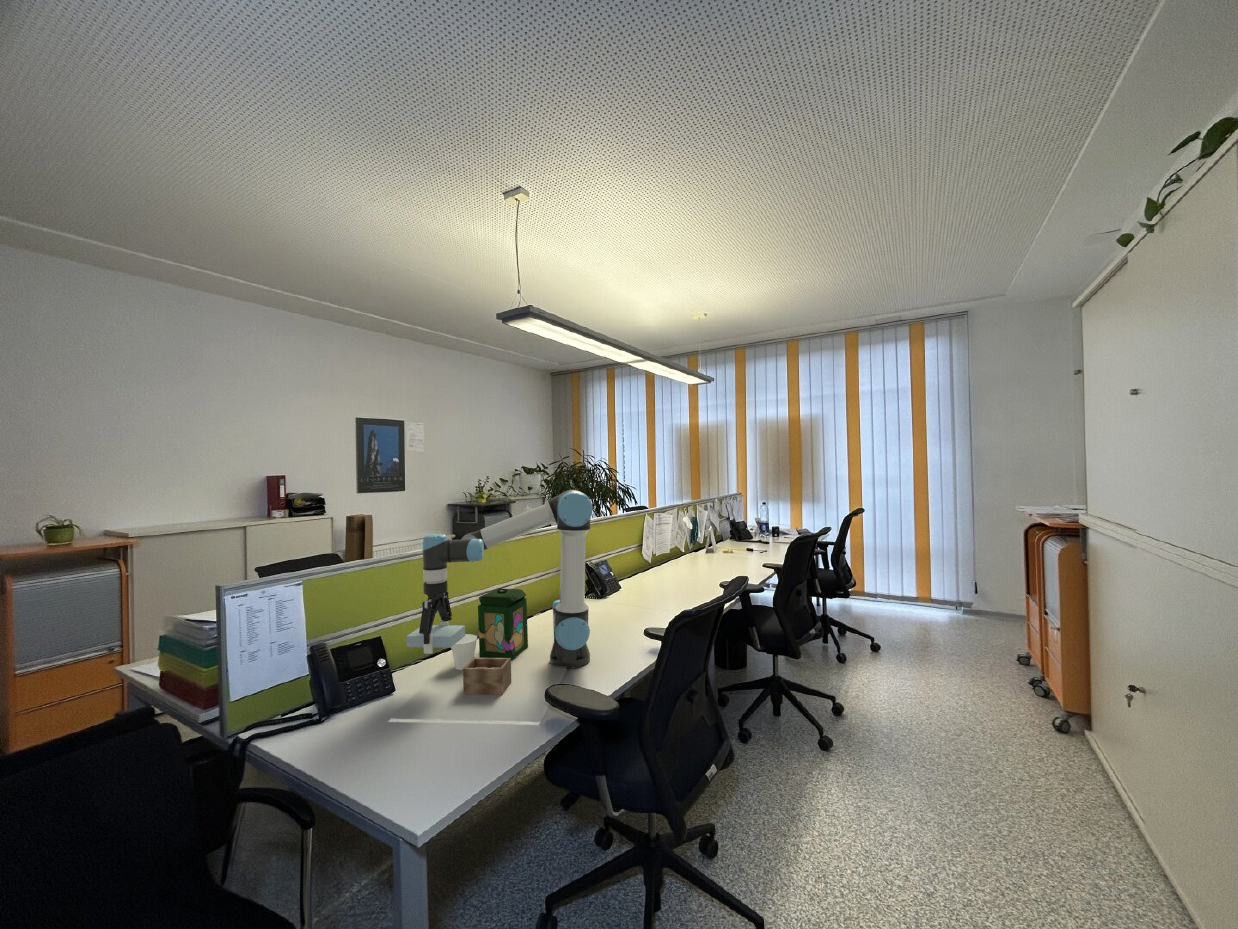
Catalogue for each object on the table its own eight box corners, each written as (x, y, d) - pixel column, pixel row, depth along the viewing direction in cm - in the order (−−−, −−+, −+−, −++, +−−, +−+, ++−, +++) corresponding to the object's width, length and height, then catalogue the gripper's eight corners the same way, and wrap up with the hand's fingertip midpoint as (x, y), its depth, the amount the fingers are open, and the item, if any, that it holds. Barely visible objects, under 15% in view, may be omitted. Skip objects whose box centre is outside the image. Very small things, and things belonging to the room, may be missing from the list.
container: (495, 643, 206) (493, 584, 206) (533, 647, 201) (531, 586, 201) (475, 657, 192) (473, 593, 192) (516, 661, 187) (513, 595, 187)
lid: (465, 635, 169) (464, 625, 169) (451, 647, 158) (450, 636, 158) (423, 635, 171) (423, 625, 171) (406, 646, 160) (406, 636, 160)
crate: (511, 684, 167) (510, 658, 167) (502, 697, 158) (501, 669, 158) (474, 684, 168) (473, 657, 168) (463, 696, 159) (462, 668, 159)
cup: (470, 675, 176) (469, 644, 176) (444, 673, 178) (443, 643, 178) (483, 663, 185) (482, 634, 185) (459, 662, 187) (458, 633, 187)
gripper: (440, 573, 177) (442, 634, 177) (406, 589, 153) (407, 660, 153) (461, 573, 176) (462, 634, 176) (429, 590, 153) (430, 660, 153)
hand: (436, 646), depth 165 cm, fingers closed on lid, 11 cm apart
